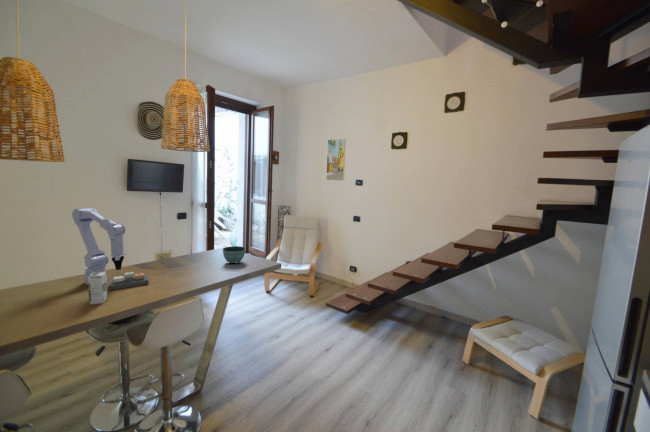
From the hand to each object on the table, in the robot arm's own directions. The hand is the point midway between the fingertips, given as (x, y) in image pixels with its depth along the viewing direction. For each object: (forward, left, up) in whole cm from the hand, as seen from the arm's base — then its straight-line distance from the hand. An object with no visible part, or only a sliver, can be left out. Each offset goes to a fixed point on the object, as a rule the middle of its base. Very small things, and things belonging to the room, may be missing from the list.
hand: (118, 269), depth 161 cm
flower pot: (+70, +12, -10) cm, 71 cm away
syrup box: (-8, -21, -10) cm, 24 cm away
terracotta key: (+10, -1, -9) cm, 13 cm away
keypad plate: (+5, -1, -9) cm, 11 cm away
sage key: (+5, -1, -7) cm, 9 cm away
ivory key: (0, -1, -9) cm, 9 cm away
